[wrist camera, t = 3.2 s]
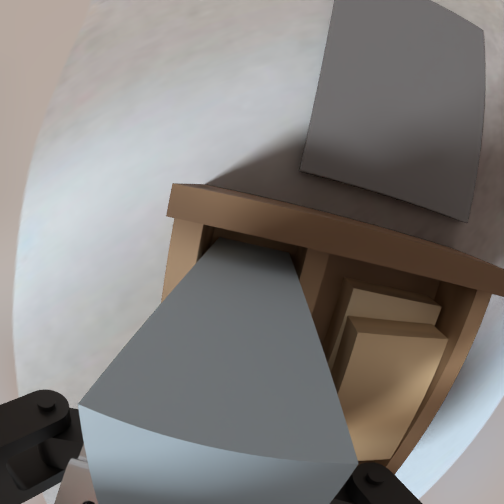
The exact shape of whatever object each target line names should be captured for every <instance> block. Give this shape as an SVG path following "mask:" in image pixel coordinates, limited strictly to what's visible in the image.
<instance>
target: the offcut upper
mask: <svg viewBox="0 0 504 504" xmlns="http://www.w3.org/2000/svg"><path fill="white" fill-rule="evenodd" d="M447 342H448V338H447V337H446V336H444V335H443V334H442V333H441V332H440V331H439V330H438V329H437V328H436V327H435V326H434V325H432V324H427V323H415V322H405V321H394V320H384V319H375V318H366V317H357V316H347V320H346V323H345V327H344V331H343V334H342V338H341V341H340V345H339V348H338V352H337V355H336V358H335V362H334V365H333V368H332V371H331V376H332V379H333V382H334V385H335V388H336V391H337V394H338V398H339V401H340V404H341V407H342V410H343V414H344V417H345V420H346V423H347V426H348V430H349V433H350V436H351V440H352V443H353V446H354V450H355V453H356V456H357V460H358V461H365V460H382V459H390V458H391V457H392V455H393V454H394V452H395V450H396V449H397V447H398V445H399V443H400V442H401V440H402V438H403V436H404V435H405V433H406V431H407V429H408V427H409V426H410V424H411V422H412V420H413V418H414V416H415V414H416V412H417V410H418V408H419V406H420V404H421V402H422V400H423V398H424V396H425V394H426V392H427V390H428V387H429V385H430V383H431V381H432V379H433V376H434V374H435V372H436V369H437V367H438V365H439V362H440V360H441V357H442V355H443V352H444V350H445V347H446V344H447Z"/></svg>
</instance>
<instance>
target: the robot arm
mask: <svg viewBox="0 0 504 504" xmlns="http://www.w3.org/2000/svg"><path fill="white" fill-rule="evenodd" d="M61 481H62V482H61ZM60 482H61V485H60V488H59V491H58V494H57V497H56V500H55V503H54V504H98V502H97V498H96V494H95V491H94V487H93V483H92V479H91V474H90V470H89V466H88V461H87V456H86V451H85V446H84V441H83V435H82V429H81V422H80V416H79V409H73V408H69V404H68V401H67V399H66V398H65V397H64V396H63V395H61V394H60V393H58V392H55V391H52V390H38V391H35V392H32V393H30V394H27V395H25V396H22V397H20V398H17V399H15V400H12V401H9V402H7V403H4V404H2V405H0V504H21V503H23V502H25V501H27V500H29V499H31V498H32V497H35V496H36V495H38V494H40V493H42V492H44V491H46V490H47V489H49V488H51V487H53V486H54V485H56V484H58V483H60ZM330 504H422V503H421V502H420V501H419V500H418V499H417V498H416V497H415V496H414V495H413V494H412V493H411V492H410V491H409V490H408V489H407V488H406V486H405V485H404V484H403V483H402V482H401V481H400V480H399V479H398V478H397V477H396V476H395V475H394V474H393V473H392V472H391V471H390V470H389V469H388V468H386V467H385V466H383V465H381V464H378V463H373V462H367V463H362V464H360V465H358V466H357V467H356V468H355V470H354V471H353V473H352V474H351V476H350V477H349V478H348V480H347V481H346V483H345V484H344V485H343V487H342V488H341V489H340V491H339V492H338V493H337V495H336V496H335V497H334V499H333V500H332V501H331V502H330Z"/></svg>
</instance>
